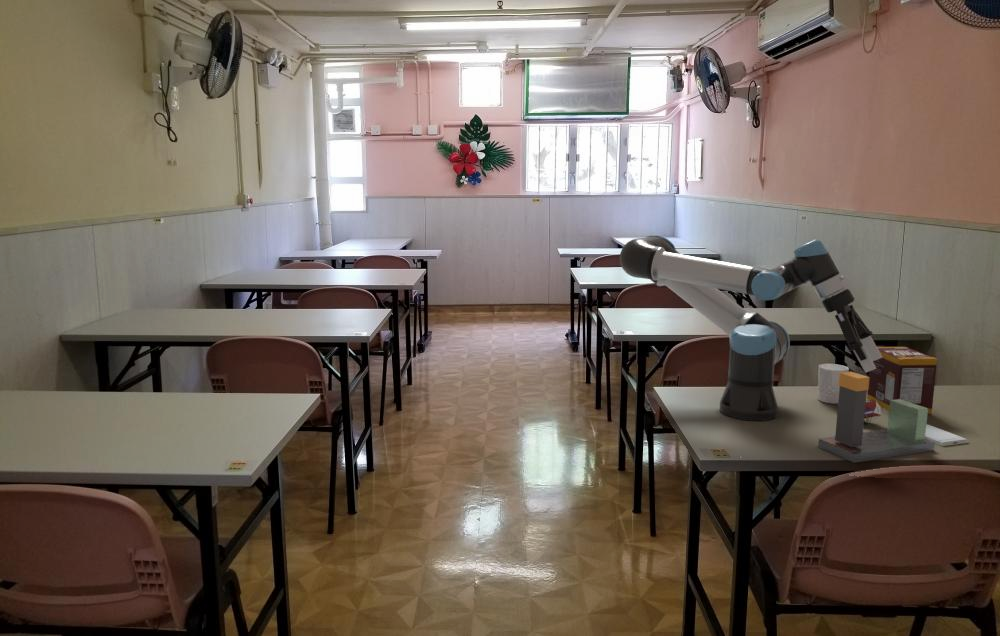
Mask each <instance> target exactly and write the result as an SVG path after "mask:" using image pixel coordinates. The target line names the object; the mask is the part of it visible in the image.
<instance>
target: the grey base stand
mask: <svg viewBox="0 0 1000 636" xmlns="http://www.w3.org/2000/svg"><path fill="white" fill-rule="evenodd" d="M928 415H929V414H928V408H925V407H922V406H919V405H916V404H913V403H910V402H907V401H904V400H901V399H897V400H890V408H889V411H888V420H887V428H886V429H880V430H871V431H863V436H862V446H856V447H850V446H847V445H845V444H843V443H840V442H838V441H836V440H835V435H834V436H830V437H829V436H828V437H820V438H818V445H817V447H819V448H820V449H822V450H824V451H828V452H830V453H831V454H834V455H836V456H838V457H839V458H842V459H845V460H847V461H848V462H851V463H854V464H855V463H862V462H868V461H875V460H880V459H887V458H892V457H893V458H894V457H900V456H901V457H902V456H907V455H912V454H918V453H919V454H920V453H925V452H926V453H927V452H933V451H932V450H934V451H935V445H936V444H935V442H932V441H930V440H927V439H925V432H926V424H928V423H927V420H928Z"/></svg>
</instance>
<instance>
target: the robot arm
mask: <svg viewBox="0 0 1000 636" xmlns="http://www.w3.org/2000/svg"><path fill="white" fill-rule="evenodd" d="M793 253H794V257H792V259H790V260H788V261H786V262H784V263H782V264H779V265H778V266H776V267H774V268H771V269H768V268H762V267H755V266H750V265H743V264H738V263H734V262H727V261H722V260H715V259H711V258H705V257H698V256H691V255H687V254H682V253H680V252H678V251H677V248H676V247H675V245H674V243H673V242H672V241H671V240H669V239H668V238H666V237H664V236H662V235H661V236H660V235H648V236H645V237H639V238H633V239H631V240H629V241H628V242H626V243H625V244H624V246H623V247H622V248H621V251H620V253H619V264H620V266H621V268H622V270H623V272H624V273H626V274H627V275H628V276H630V277H632V278H637V279H645V280H646V279H647V280H650V281H651V282H652V283H654V284H655V285H656V286H658V287H662V286H666V287H667V288H668V289H669V290H671V291H672V292H673V293H675V294H676V295H677V296H678V297H680V298H681V299H682V300H683V301H684V302H685V303H687V304H689V305H690V306H691V307H692V308H693V309H694V310H696V311H697V312H698V313H700V314H701V315H702V316H704V317H705V318H706V319H708V321H710V322H712V323H713V324H714V325H715V326H717V328H719V329H720V330H721V331H723V333H725V334H726V335H728V336H729V356H728V357H729V358H728V373H727V384H726V386H725V389H724V390H723V393H722V396H721V398H720V401H719V411H720V413H722V414H724V415H725V416H728V417H731V418H735V419H739V420H748V421H768V420H772V419H775V418H777V417H778V413H779V405H778V402H777V398H776V395H775V390H774V387H773V386H774V373H775V372H774V371H775V365H776V364H777V363H779V362H781V361H782V360H783V359H784V357H786V355H787V353H788V351H789V349H790V343H791V342H790V341H791V338H790V336H789V335H790V334H789V333H788V331H787V329H785V327H784V326H782V324H780V323H778V322H777V321H776V322H775V321H772V320H771V321H770V320H768V319H766V318H765V317H764V316H762V315H761V314H760V313H758V312H757V311H755V312H750V311H747V310H746V309H745V308H743V307H742V306H740V305H739V304H738V303H737V302H736V301H734V300H733V299H731V298H730V297H729V296H727V294H725V293H724V292H722V291H727V292H729V291H730V292H732V293H733V292H734V293H740V294H744V295H748V296H755V297H756V298H757V299H759V300H761V301H773V300H776V299H778V298H780V297H781V296H783V295H785V294H787V293H788V292H790V291H792V290H795V289H796V288H799V287H800V286H802V285H804V284H807V283H809V282H810V284H811V285H812V288H813V290H814V292H815V293H816V295H817V297H818V299H820V300H821V299H822V301H821V304H822V305H823V307H824V308H825V311H826V313H833V312H836V314H835V315H834V318H835V320H836V322H837V323H838V325H839V328H840V330H841V332H842V335H843V336H844V338H845V341H846V344H847V345H848V348H847V349H848V351H849V352H852V351H853V354H854V355H855V357H856V358H857V360H858V362H859V364H860V366H861V367H862V370H863V371H864V373H869V371H871V370H874V369H876V367H875V365H874V363H873V361H875V360H877V359H880V358H882V355H881V353H880V352H879V350H878V348H877V347H878V346H877V345H876V343H875V341H874V339H873V337H872V335H874V333H873V331H872V330H870V329H869V328H868V326H867V325H866V324H865V322H864V321H863V320H862V318H861V317H860V315H859V314H858V312H857V311H856V309H855V308H854V306H853V304H852V303H853V302H855V297H854V296H853V293H852V292H851V289H849V288H847V284H846V282H845V279H846V277H845V275H841V273H840V271H839V269H838V268H837V266H836V264H835V262H834V260H833V259H832V257H831V255H830V252H829V251H828V250H827V248H826V247H825V245H824V244H823V242H822V241H821V240H820V239H817V238H816V239H812V240H811V241H809V242H807V243H804V244H803V245H801V246H799V247H797V248H795V249H794V251H793ZM721 290H722V291H721Z"/></svg>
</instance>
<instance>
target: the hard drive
mask: <svg viewBox="0 0 1000 636" xmlns="http://www.w3.org/2000/svg"><path fill="white" fill-rule="evenodd" d="M925 439H927V440H930V441H932V442H935V445H937V446H938V445H939V446H940V445H941V446H940V447H946V446H954V445H955V446H956V445H961V444H968V443H969V439H967V438H964V436H963V437H962V436H960V435H957V434H954V433H952V432H950V431H946V430H944V429H942V428H938V427H936V426H933V425H930V424H928V423H926V432H925Z"/></svg>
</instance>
